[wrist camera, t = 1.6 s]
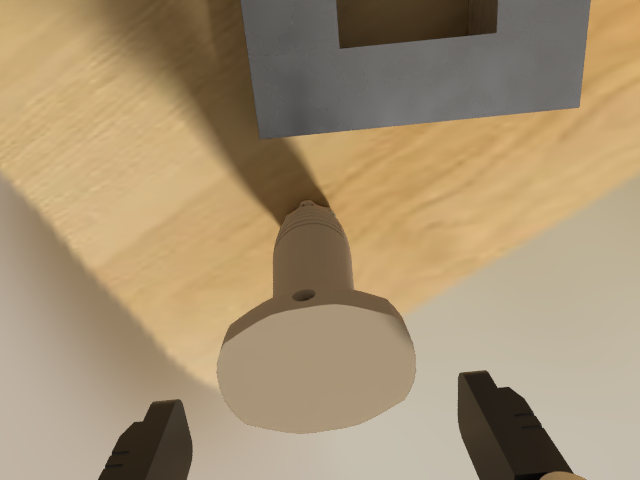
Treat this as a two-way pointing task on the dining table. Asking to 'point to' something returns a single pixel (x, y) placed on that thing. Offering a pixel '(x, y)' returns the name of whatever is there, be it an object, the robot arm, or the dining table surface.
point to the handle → (315, 339)
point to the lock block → (411, 67)
